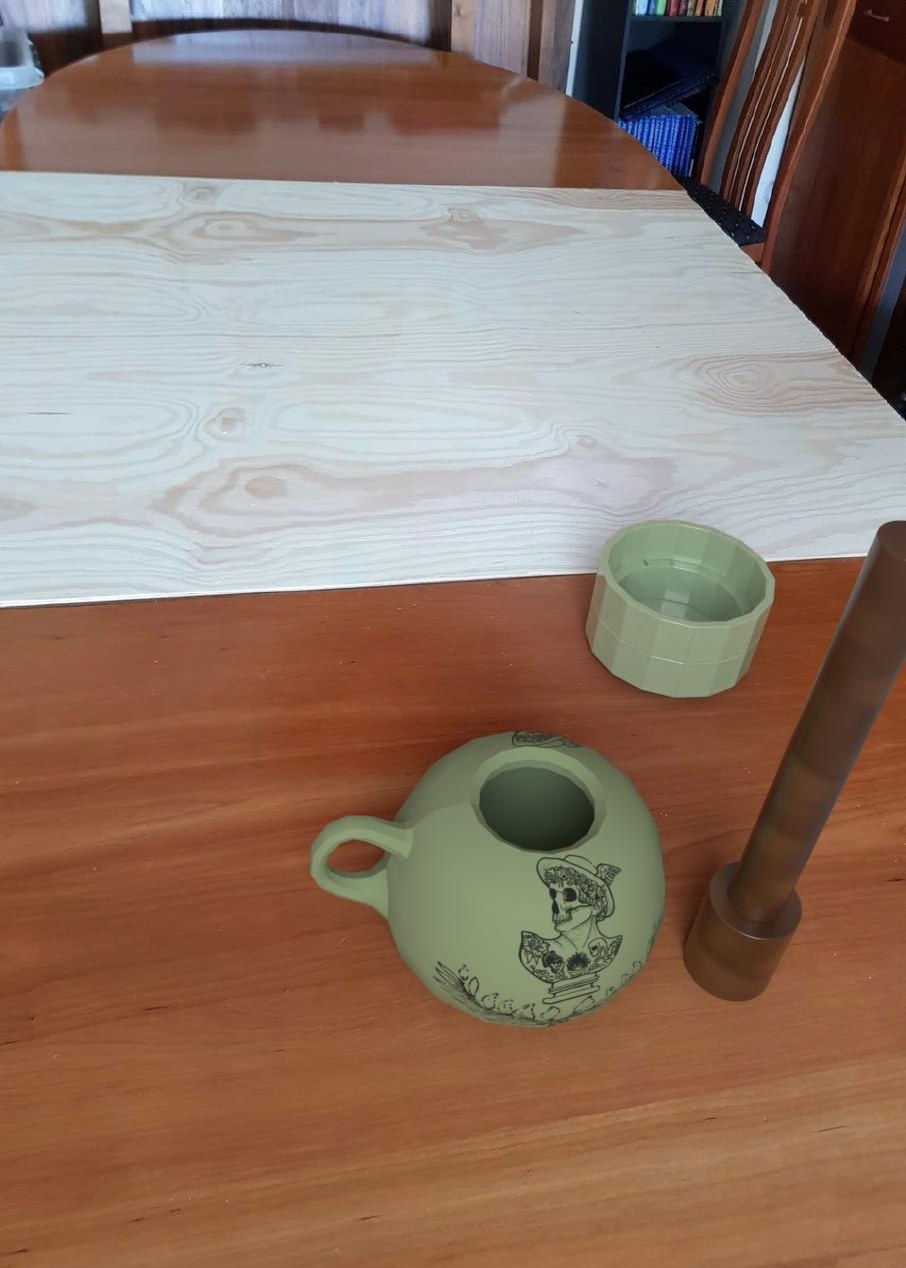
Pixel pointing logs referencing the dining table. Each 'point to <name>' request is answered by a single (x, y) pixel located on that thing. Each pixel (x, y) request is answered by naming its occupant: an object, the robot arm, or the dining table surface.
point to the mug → (513, 878)
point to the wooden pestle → (805, 785)
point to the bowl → (678, 607)
